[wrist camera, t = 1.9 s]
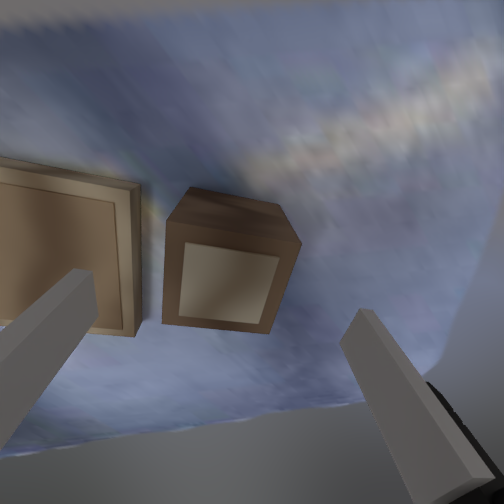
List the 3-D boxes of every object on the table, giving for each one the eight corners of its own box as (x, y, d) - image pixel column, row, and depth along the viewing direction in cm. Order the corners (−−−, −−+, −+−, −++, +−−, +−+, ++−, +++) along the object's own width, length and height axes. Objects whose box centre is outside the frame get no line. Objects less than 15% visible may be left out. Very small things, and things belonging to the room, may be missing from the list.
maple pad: (5, 307, 21) (-17, 325, 19) (-57, 145, 15) (-100, 148, 13) (142, 321, 23) (134, 338, 21) (140, 184, 17) (128, 191, 15)
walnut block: (183, 264, 20) (160, 325, 14) (190, 186, 17) (165, 221, 11) (258, 274, 21) (269, 336, 15) (278, 204, 18) (302, 245, 12)
